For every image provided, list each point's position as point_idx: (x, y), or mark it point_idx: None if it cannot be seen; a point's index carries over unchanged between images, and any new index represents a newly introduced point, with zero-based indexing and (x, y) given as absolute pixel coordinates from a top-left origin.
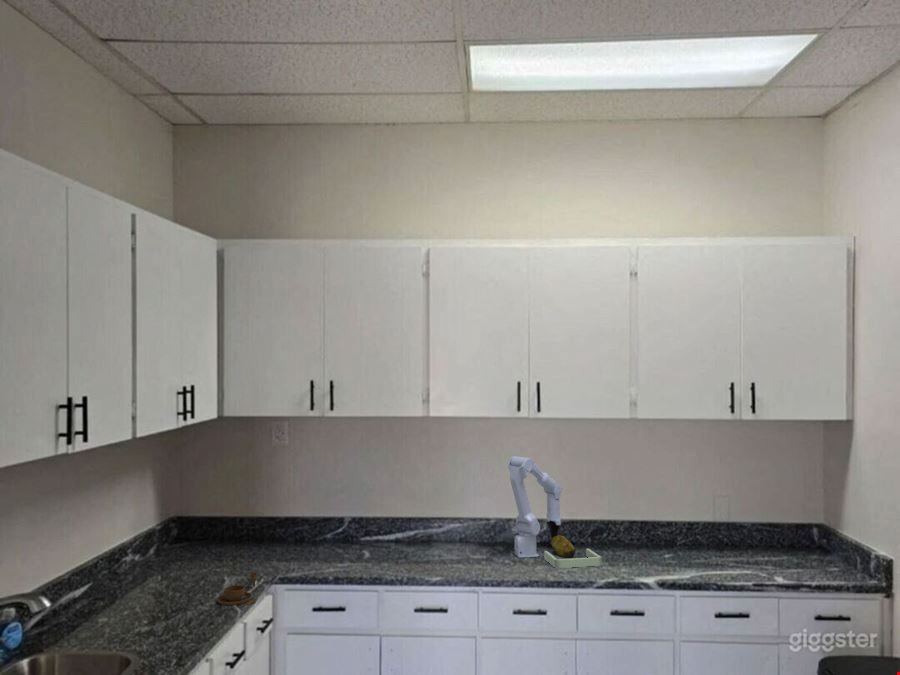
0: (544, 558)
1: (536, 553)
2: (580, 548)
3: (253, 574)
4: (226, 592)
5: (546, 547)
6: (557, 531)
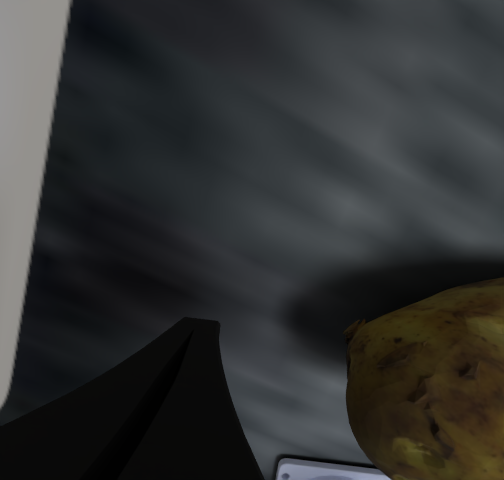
0: None
1: (345, 475)
2: (300, 62)
3: None
4: None
5: None
6: (224, 380)
